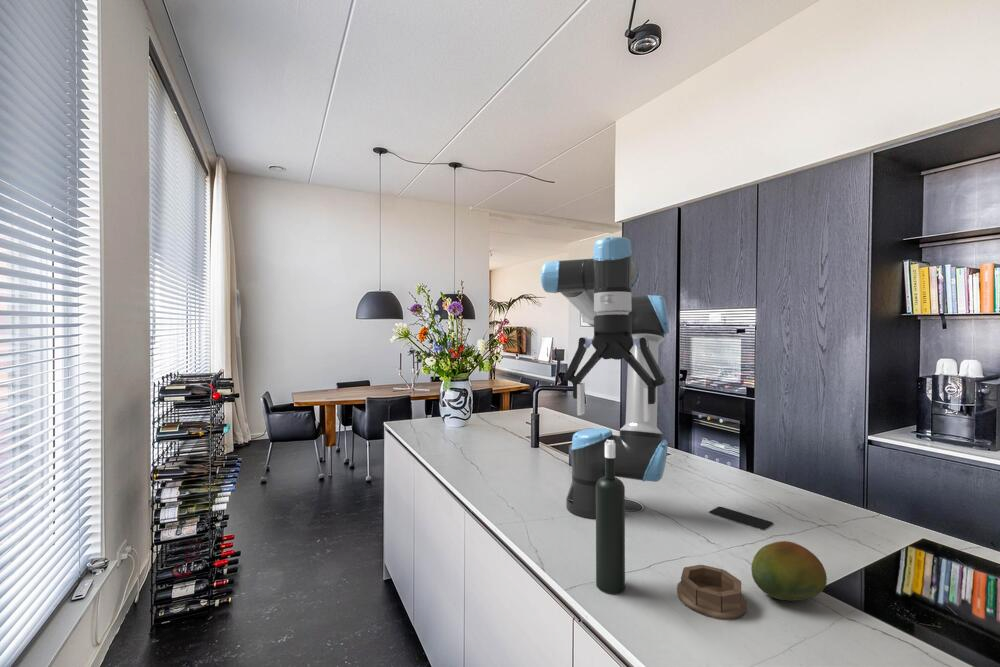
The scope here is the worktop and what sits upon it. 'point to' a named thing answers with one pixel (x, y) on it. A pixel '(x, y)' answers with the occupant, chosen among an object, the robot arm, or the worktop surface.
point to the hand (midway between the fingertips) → (612, 417)
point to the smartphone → (742, 518)
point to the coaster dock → (711, 592)
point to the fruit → (788, 571)
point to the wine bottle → (610, 527)
